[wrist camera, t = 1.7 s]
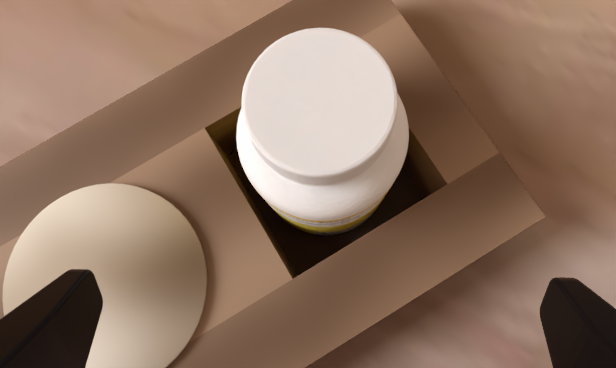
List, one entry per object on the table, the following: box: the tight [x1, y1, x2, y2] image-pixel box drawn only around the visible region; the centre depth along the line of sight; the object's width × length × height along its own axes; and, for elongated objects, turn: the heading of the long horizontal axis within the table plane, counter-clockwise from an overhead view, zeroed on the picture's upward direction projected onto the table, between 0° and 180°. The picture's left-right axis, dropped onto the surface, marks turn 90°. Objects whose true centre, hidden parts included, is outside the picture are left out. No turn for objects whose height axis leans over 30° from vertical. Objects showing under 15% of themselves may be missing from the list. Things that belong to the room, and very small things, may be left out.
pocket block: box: [0, 0, 545, 368], centre depth 19 cm, size 12×20×4 cm, turn 120°
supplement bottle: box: [236, 28, 409, 236], centre depth 17 cm, size 5×5×10 cm
